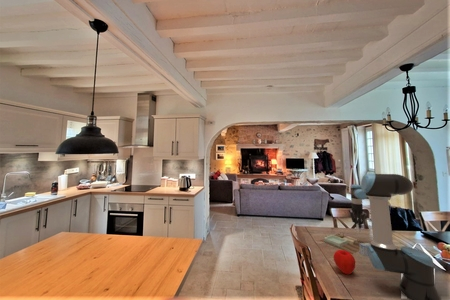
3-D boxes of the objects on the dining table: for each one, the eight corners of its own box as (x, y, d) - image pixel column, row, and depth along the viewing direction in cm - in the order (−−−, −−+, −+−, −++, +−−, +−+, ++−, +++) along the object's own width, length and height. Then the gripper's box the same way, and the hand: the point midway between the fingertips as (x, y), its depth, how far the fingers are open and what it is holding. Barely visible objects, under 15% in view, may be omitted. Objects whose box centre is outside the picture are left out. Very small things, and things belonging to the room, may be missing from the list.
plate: (352, 244, 147) (352, 241, 147) (342, 240, 154) (342, 238, 154) (357, 242, 150) (357, 239, 151) (347, 238, 158) (347, 236, 158)
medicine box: (369, 254, 134) (368, 242, 135) (374, 257, 130) (373, 245, 130) (359, 254, 134) (358, 243, 134) (364, 258, 130) (363, 246, 130)
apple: (330, 269, 117) (329, 248, 118) (342, 265, 122) (341, 245, 122) (347, 280, 106) (346, 258, 107) (360, 275, 110) (359, 253, 111)
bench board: (352, 255, 133) (351, 247, 133) (320, 241, 156) (319, 234, 156) (370, 246, 146) (370, 238, 146) (338, 234, 169) (338, 228, 169)
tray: (339, 247, 143) (339, 243, 143) (324, 241, 154) (323, 237, 155) (347, 243, 148) (347, 240, 149) (332, 237, 160) (332, 234, 160)
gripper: (368, 204, 144) (370, 233, 142) (350, 201, 155) (352, 228, 154) (363, 205, 140) (365, 235, 139) (346, 202, 152) (347, 230, 150)
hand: (358, 231), depth 146 cm, fingers closed
